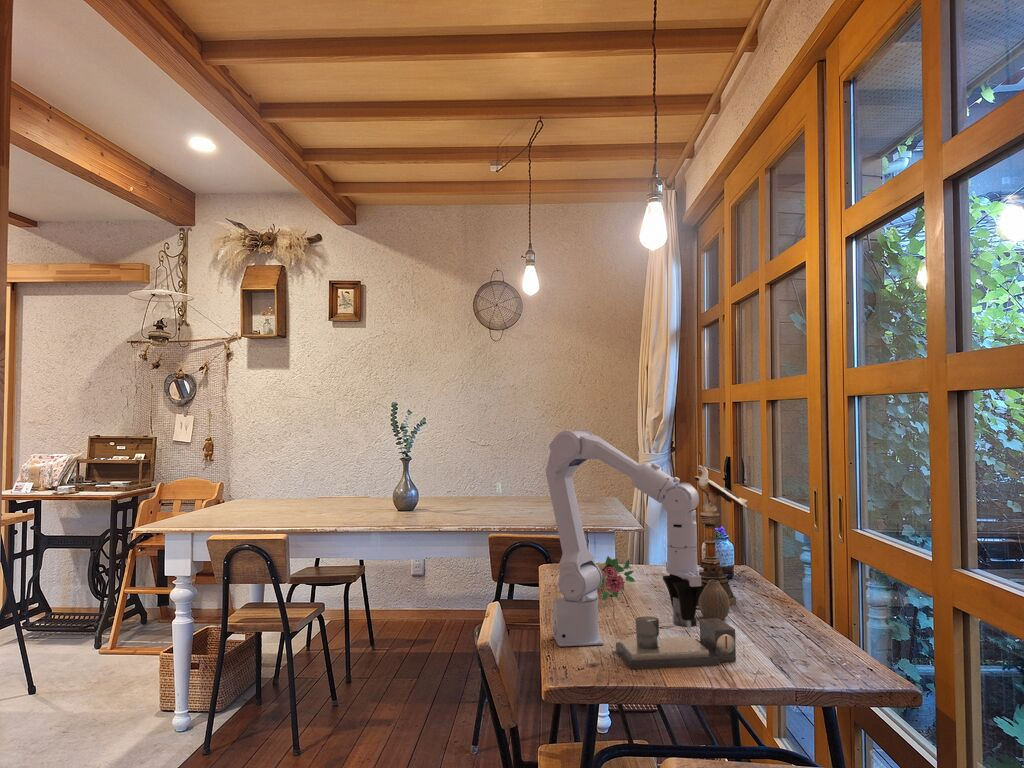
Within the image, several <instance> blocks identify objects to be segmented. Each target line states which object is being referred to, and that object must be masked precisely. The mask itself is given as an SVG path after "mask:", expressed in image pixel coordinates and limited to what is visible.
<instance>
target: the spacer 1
mask: <svg viewBox="0 0 1024 768" xmlns="http://www.w3.org/2000/svg"><path fill="white" fill-rule="evenodd" d="M635 632H636V633H635V634H636V637H635V639H637V646H638V647H640V648H644V649H655V648H658V647H659V646H660V639H659V638H660V623H659V618H658V617H656V616H646V615H645V616H644V615H643V616H638V617H636V618H635Z"/></svg>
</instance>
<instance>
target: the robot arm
mask: <svg viewBox="0 0 1024 768" xmlns="http://www.w3.org/2000/svg"><path fill="white" fill-rule="evenodd" d="M549 451H550V453H549V455H548V456H549V457H548V461H547V465H546V469H545V474H546V475H545V476H546V480H547V484H548V491H549V495H550V498H551V499H550V500H551V504H552V508H553V514H554V518H555V522H556V529H557V532H558V538H559V541H560V543H559V544H560V547H561V553H562V555H561V558H560V561H559V563H558V569H559V576H558V582H557V583H558V584H557V585H558V588H559V592H560V593H561V595H562V596H563V597H559V598H554V599H553V603H552V636H553V638H554V640H555V642H556V643H557V646H558V647H574V646H575V647H576V646H577V647H579V646H600V645H602V646H603V645H604V644H605V642H604V640H603V639H602V638H601V636H600V635H599V594H598V589H599V588H600V587H601V586H602V585H601V583H602V580H603V579H602V573H601V571H600V569H599V567H598V566H597V565H596V563H597V562H596V560H595V556H594V554H593V553H592V552H591V551H590V550H589V549H588V546H587V545H588V544H587V541H586V536H585V532H584V526H583V522H582V517H581V513H580V507H579V505H578V504H579V503H578V499H577V498H578V497H577V494H576V490H575V489H576V488H575V484H574V480H573V476H574V474H575V473H576V471H577V470H578V468H579V467H580V465H582V464H583V463H585V462H586V461H587V460H599V461H601V462H603V463H604V464H607V465H608V466H609V467H611V468H613V469H615V470H616V471H618V472H620V473H622V474H624V475H626V476H627V477H629V478H630V479H631V482H632V485H633V487H634V488H636V489H638V491H640V492H641V493H643V494H645V495H647V496H648V497H650V498H651V499H653V500H654V501H656V502H657V503H659V504H662V507H663V508H664V509H663V510H665V511H666V543H667V544H666V546H667V547H666V550H667V554H666V555H667V561H665V571H666V573H667V574H669V575H663V576H662V581H664V584H665V585H666V588H667V591H668V594H669V598H670V603H671V608H672V609H673V597H674V596H678V598H679V603H680V610H681V616H682V619H683V620H694V617H695V612H696V613H697V606H698V605H697V603H698V600H699V597H700V595H701V593H702V591H703V589H704V584H702V583H701V576H700V575H699V572H703V568H701V567H700V566H698V532H697V528H698V527H697V510H696V508H697V507H698V506H699V503H700V495H699V492H698V490H697V489H696V488H695V487H694V486H693V485H692V484H691V483H689V482H680V480H681V479H680V478H679V477H677V476H675V477H673V476H671V475H670V474H668V473H666V472H665V471H663V470H661V469H660V468H661V466H660V465H659V464H657V462H656V463H650V462H645V463H642V464H640V463H638V462H637V461H635V460H634V459H632V458H631V457H630V456H628V455H627V454H625V453H624V452H622V451H621V450H620V449H618V448H616V447H615V446H613V445H612V444H610V443H608V442H607V441H606V440H605V439H603V438H602V437H600V436H599V435H596V434H593V433H591V432H590V431H588V430H584V429H583V430H571V431H569V430H564V431H561V432H559V433H557V434H556V435H555V437H554V438H553V439H552V441H551V442H550V443H549Z"/></svg>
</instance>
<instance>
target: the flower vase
mask: <svg viewBox="0 0 1024 768" xmlns="http://www.w3.org/2000/svg"><path fill="white" fill-rule="evenodd" d="M595 563H596V565H597V566H598V567H599V569H600V571H601V573H602V583H601V585H600V586H605V588H608V590H605V591H604V592H603V595H602V597H601V598H602V599H601V600H602V601H604V600H606V599H607V598H609V597H610V592H611V594H612V595H613V596H614V597H615V598H616V599H618V598H619V593H618V592H620V591H623V592H624V591H625V582H630V583H634V582H636V580H635V579H634V578H633V577H632V576H631V575H632V574H633V573H634V570H629V571H625V569H629V566H630V558H628V559H627V560H626V561H625V563H624V566H623V567H622V566H621V565H619V559H618V557H616V558H612V557H611V556H609V555H607V556H606V559H605V562H595ZM624 571H625V572H624ZM623 572H624V573H623ZM620 573H623V575H624V576H625V577H623V576H621V575H622V574H620ZM624 578H625V581H624Z"/></svg>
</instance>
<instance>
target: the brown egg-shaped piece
mask: <svg viewBox="0 0 1024 768" xmlns="http://www.w3.org/2000/svg"><path fill="white" fill-rule="evenodd" d="M698 607H699V611H700V613H701V615H702V616H703V617H704V619H713V618H719V619H720V620H722V621H724V620H725V619H726V618H727V617H728V615H729V612H730V607H731V606H730V602H729V598H728V595H727V593H726V591H725V590H724V589H723V587H722V586H721V585H720V582H719V581H718V580H709V581H708V583H707V585H706V586H705V587H704V589H703V591H702V593H701V595H700V597H699V605H698Z"/></svg>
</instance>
